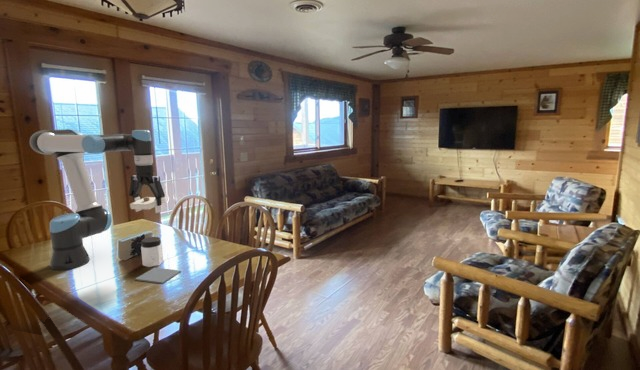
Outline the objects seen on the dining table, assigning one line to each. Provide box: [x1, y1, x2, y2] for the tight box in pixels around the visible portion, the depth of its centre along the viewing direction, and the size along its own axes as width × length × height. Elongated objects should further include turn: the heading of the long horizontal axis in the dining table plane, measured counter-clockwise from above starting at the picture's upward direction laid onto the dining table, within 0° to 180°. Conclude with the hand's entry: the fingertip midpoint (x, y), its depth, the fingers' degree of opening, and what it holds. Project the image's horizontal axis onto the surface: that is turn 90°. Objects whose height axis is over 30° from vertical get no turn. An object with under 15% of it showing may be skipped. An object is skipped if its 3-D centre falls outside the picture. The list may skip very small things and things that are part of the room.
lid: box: [129, 196, 165, 210], centre depth 160 cm, size 10×10×4 cm
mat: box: [134, 267, 182, 285], centre depth 152 cm, size 14×12×1 cm
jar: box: [140, 236, 164, 268], centre depth 164 cm, size 9×8×12 cm
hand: (148, 211), depth 161 cm, fingers closed on lid, 10 cm apart
